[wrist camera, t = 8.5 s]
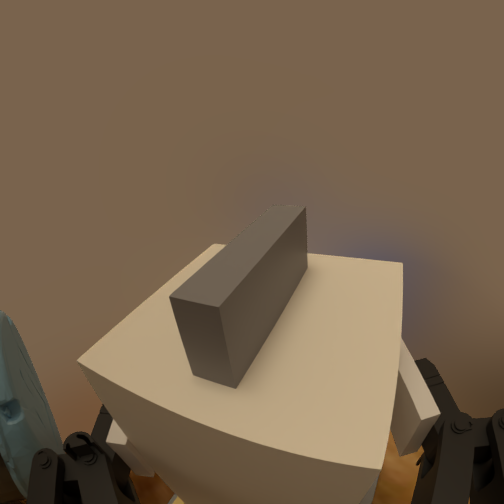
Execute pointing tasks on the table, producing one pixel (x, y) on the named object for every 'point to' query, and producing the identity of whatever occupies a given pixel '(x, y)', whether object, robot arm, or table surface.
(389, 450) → the table surface
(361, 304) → the beige rectangular block
